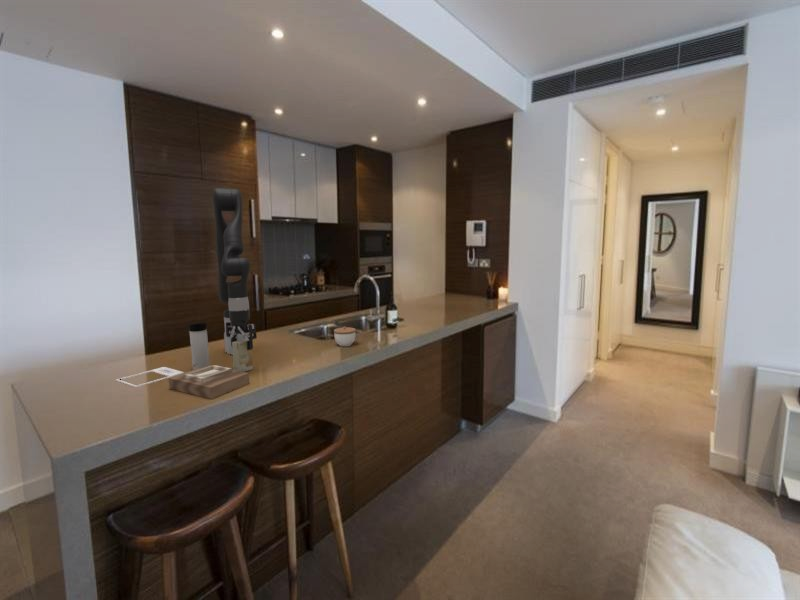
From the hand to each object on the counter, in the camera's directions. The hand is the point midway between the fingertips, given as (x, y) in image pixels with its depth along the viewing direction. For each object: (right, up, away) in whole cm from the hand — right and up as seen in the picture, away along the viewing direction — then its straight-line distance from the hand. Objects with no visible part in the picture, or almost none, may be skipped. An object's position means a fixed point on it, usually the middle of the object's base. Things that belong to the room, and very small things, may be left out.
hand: (242, 348), depth 161 cm
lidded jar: (+36, -3, +39) cm, 53 cm away
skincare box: (0, -9, +2) cm, 9 cm away
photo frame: (-34, -11, -5) cm, 36 cm away
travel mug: (-17, -9, +3) cm, 20 cm away
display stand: (-6, -12, -16) cm, 20 cm away
